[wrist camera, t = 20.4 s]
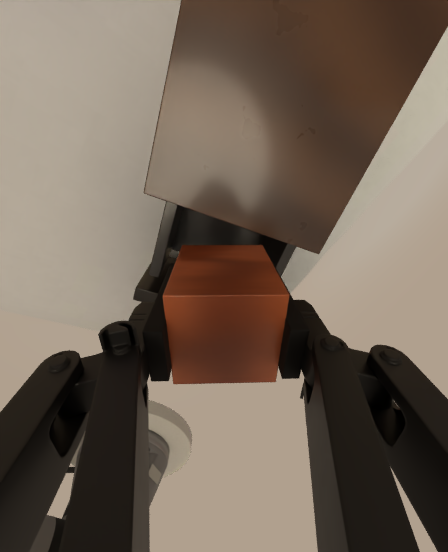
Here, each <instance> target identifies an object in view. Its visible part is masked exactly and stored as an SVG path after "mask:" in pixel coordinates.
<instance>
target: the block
mask: <svg viewBox="0 0 448 552" xmlns="http://www.w3.org/2000/svg"><path fill="white" fill-rule="evenodd" d="M288 301H289V293H288V291H287V289H286V288H285V286H284V284H283V282H282V280H281V278H280V277H279V275H278V273H277V271H276V269H275V267H274V266H273V264H272V262H271V260H270V258H269V256H268V255H267V253H266V251H265V249H264V247H263V245H182V247H181V249H180V252H179V254H178V257H177V260H176V262H175V265H174V268H173V270H172V273H171V275H170V278H169V281H168V283H167V286H166V288H165V291H164V294H163V304H164V312H165V319H166V324H167V332H168V341H169V349H170V357H171V365H172V368H171V369H172V377H173V384H202V383H203V384H205V383H250V382H251V383H253V382H276V377H277V371H278V362H279V356H280V350H281V343H282V337H283V331H284V324H285V318H286V314H287V308H288Z"/></svg>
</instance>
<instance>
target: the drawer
mask: <svg viewBox="0 0 448 552" xmlns="http://www.w3.org/2000/svg"><path fill="white" fill-rule="evenodd" d="M182 245H263V247H264V249H265V251H266V253H267V255H268V256H269V258H270V260H271V262H272V263H273V264H274V266H275V267H276V269H277V271H278V273H279V275H280V276H281V275H282V274H283V272H284V270H285V268H286V266H287V264H288V262H289V260H290V258H291V256H292V254H293V252H294V250H295V248H296V246H294V245H291V244H288V243H285V242H282V241H279V240H277V239H274V238H271V237H268V236H265V235H262V234H259V233H256V232H254V231H251V230H248V229H245V228H242V227H239V226H236V225H233V224H231V223H228V222H225V221H222V220H219V219H216V218H213V217H210V216H208V215H205V214H202V213H199V212H196V211H193V210H190V209H188V208H185V207H182V206H179V205H176V204H173V203H170V202H167V201H166V205H165V209H164V213H163V217H162V221H161V225H160V230H159V234H158V238H157V242H156V246H155V250H154V255H153V259H152V262H151V264H150V265H149V267H148V269H147V270H146V272H145V273H144V275H143V277H142V278H141V280H140V282H139V283H138V285H137V287H136V289H135V293H134V298H133V299H134V300H137V301H141V302H155V300H156V298H157V295H158V293H159V291H160V288H161V286H162V284H163V281H164V279H165V276H166V274H167V272H168V269H169V267H170V264H171V263H175V262H176V260H177V259H176V258H173V257H170V256H169V255H170V252H171V250H172V249H173V250H176V251H179V252H180V249H181V247H182Z"/></svg>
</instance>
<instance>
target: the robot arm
mask: <svg viewBox="0 0 448 552" xmlns="http://www.w3.org/2000/svg"><path fill="white" fill-rule="evenodd" d="M272 264H273V263H272ZM174 265H175V263H171V264H170V267H169V269H168V272H167V274H166V276H165V279H164V281H163V284H162V286H161V288H160V291H159V293H158V295H157V298H156V300H155V302H141V303H140V304H139V305H138V306H136V307H135V309H134V311H133V313H132V315H131V316H130V318H129V321H118V322H114V323H111V324H109V325H107V326H105V327H104V328H103V329H102V330H101V331H100V333H99V334H98V335H99V339H100V342H101V346H102V349H103V352H102V353H99V354H96V355H93V356H88V357H84V358H80V355H79V353H77V352H76V351H70V350H69V351H62V352H59V353H57V354H54V355H52V356H50V357H49V358H47V359H46V360H44V362H42V363H41V364H40V365H39V367H38V368H37V369H36V370H35V371H34V373H33V374H32V375H31V376H30V377H29V379H28V380H27V381H26V382H25V383H24V385H23V386H22V387H21V388H20V389H19V391H18V392H17V393H16V394H15V395H14V397H13V398H12V399H11V400H10V401H9V403H8V404H7V405H6V406H5V407H4V409H3V410H2V411H1V412H0V552H149V506H150V504H151V502H152V500H153V497H154V495H155V493H156V491H157V488H158V486H159V483H160V481H161V479H162V477H163V475H164V472H165V470H166V468H167V465H168V459H169V452H170V451H169V446H168V444H167V442H166V441H165V440H164V439H163V438H162V437H161V436H160V435H159V434H157V433H155V432H153V431H151V430H149V418H148V386H147V380H148V377H149V374H150V377H151V381H169V377H170V372H171V368H172V365H171V357H170V349H169V341H168V332H167V324H166V319H165V312H164V304H163V294H164V291H165V288H166V286H167V283H168V281H169V278H170V275H171V273H172V270H173V268H174ZM273 266H274V264H273ZM274 267H275V266H274ZM275 269H276V267H275ZM276 271H277V269H276ZM277 273H278V271H277ZM278 275H279V273H278ZM279 277H280V278H281V276H280V275H279ZM281 280H282V278H281ZM282 282H283V280H282ZM283 284H284V282H283ZM284 286H285V284H284ZM285 288H286V289H287V287H286V286H285ZM287 291H288V289H287ZM288 293H289V291H288ZM278 366H279V370H280V373H281V376H282V379H290V378H299V376H300V372H301V370H302V372H303V375H304V377H305V378H304V383H303V387H302V391H301V396H300V398H302V399H303V396H304V403H305V413H306V425H307V436H308V447H309V458H310V469H311V480H312V490H313V502H314V513H315V524H316V535H317V546H318V552H420V551H419V548H418V546H417V542H416V540H415V537H414V534H413V531H412V528H411V525H410V522H409V520H408V517H407V514H406V511H405V508H404V505H403V503H402V500H401V497H400V494H399V491H398V488H397V486H396V482H395V480H394V477H393V474H392V471H391V468H392V470H393V472H394V474H395V475H396V477H397V479H398V481H399V482H400V484H401V486H402V488H403V490H404V491H405V493H406V495H407V497H408V498H409V501H410V502H411V504H412V506H413V508H414V509H415V511H416V513H417V515H418V517H419V519H420V520H421V522H422V524H423V526H424V527H425V529H426V531H427V533H428V535H429V536H430V538H431V540H432V542H433V543H434V545H435V547H436V549H437V551H438V552H448V399H447V398H446V397H445V396H444V395H443V394H442V393H441V392H440V391H439V389H438V388H437V387H436V386H435V385H433V383H432V382H431V381H430V380H429V379H428V378H427V377H426V376H425V375H424V374H423V373H422V372H421V371H420V369H419V368H418V367H417V366H416V365H415V364H414V363H413V362H412V361H411V360H410V359H409V358H408V357H407V356H406V355H405V354H403V353H402V352H401V351H399V350H397V349H395V348H393V347H390V346H386V345H375V346H373V347H372V348H371V350H370V352H369V353H367V352H363V351H358V350H354V349H350V348H348V346H347V345H346V343H345V342H344V341H343V340H341V339H340V338H338V337H336V336H333V335H331V334H330V333H329V331H328V330H327V328H326V326H325V325H324V324H323V322H322V320H321V319H320V318H319V316H318V314H317V313H316V311H315V310H314V308H313V307H312V305H311V304H309V303H308V302H306V301H305V300H293V298H292V296H291V295H290V293H289V301H288V308H287V314H286V318H285V324H284V331H283V337H282V343H281V350H280V356H279V362H278ZM394 401H395V402H394ZM395 403H396V404H397V405H398V406H397V405H396V404H395ZM84 433H85V435H84ZM83 435H84V440H83V442H82V444H81V446H80V448H79V450H78V453H77V459H76V465H75V467H69V465H70V463H71V461H72V459H73V457H74V455H75V452H76V450H77V448H78V446H79V444H80V442H81V439H82V437H83ZM390 467H391V468H390ZM65 473H74V477H73V483H72V489H71V496H70V500H69V503H68V505H67V508H66V510H65V513H64V515H63V517H62V519H59V518H56V517H53V516H49V515H47V513H48V511H49V508H50V506H51V504H52V502H53V500H54V497H55V495H56V493H57V491H58V489H59V487H60V484H61V483H62V480H63V478H64V476H65Z"/></svg>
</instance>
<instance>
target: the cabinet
mask: <svg viewBox="0 0 448 552" xmlns="http://www.w3.org/2000/svg"><path fill="white" fill-rule="evenodd" d="M447 27H448V0H181V6H180V11H179V16H178V21H177V26H176V31H175V36H174V41H173V46H172V51H171V56H170V61H169V66H168V71H167V77H166V82H165V87H164V92H163V97H162V102H161V107H160V112H159V117H158V122H157V127H156V132H155V137H154V142H153V147H152V153H151V158H150V163H149V168H148V173H147V178H146V183H145V188H144V194H147V195H150V196H153V197H156V198H159V199H162V200H165V201H167V202H170V203H173V204H176V205H179V206H182V207H185V208H188V209H190V210H193V211H196V212H199V213H202V214H205V215H208V216H210V217H213V218H216V219H219V220H222V221H225V222H228V223H231V224H233V225H236V226H239V227H242V228H245V229H248V230H251V231H254V232H256V233H259V234H262V235H265V236H268V237H271V238H274V239H277V240H279V241H282V242H285V243H288V244H291V245H294V246H297V247H299V248H302V249H305V250H308V251H311V252H314V253H317V254H319V253H320V251H321V250H322V248H323V246H324V244H325V242H326V241H327V239H328V237H329V235H330V234H331V232H332V230H333V228H334V227H335V225H336V223H337V221H338V219H339V218H340V216H341V214H342V212H343V211H344V209H345V207H346V205H347V204H348V202H349V200H350V198H351V196H352V195H353V193H354V191H355V189H356V188H357V186H358V184H359V182H360V181H361V179H362V177H363V175H364V173H365V172H366V170H367V168H368V166H369V165H370V163H371V161H372V159H373V158H374V156H375V154H376V152H377V150H378V149H379V147H380V145H381V143H382V142H383V140H384V138H385V136H386V135H387V133H388V131H389V129H390V127H391V126H392V124H393V122H394V120H395V119H396V117H397V115H398V113H399V112H400V110H401V108H402V106H403V104H404V103H405V101H406V99H407V97H408V96H409V94H410V92H411V90H412V89H413V87H414V85H415V83H416V81H417V80H418V78H419V76H420V74H421V73H422V71H423V69H424V67H425V66H426V64H427V62H428V60H429V58H430V57H431V55H432V53H433V51H434V50H435V48H436V46H437V44H438V43H439V41H440V39H441V37H442V35H443V34H444V32H445V30H446V28H447Z"/></svg>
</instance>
